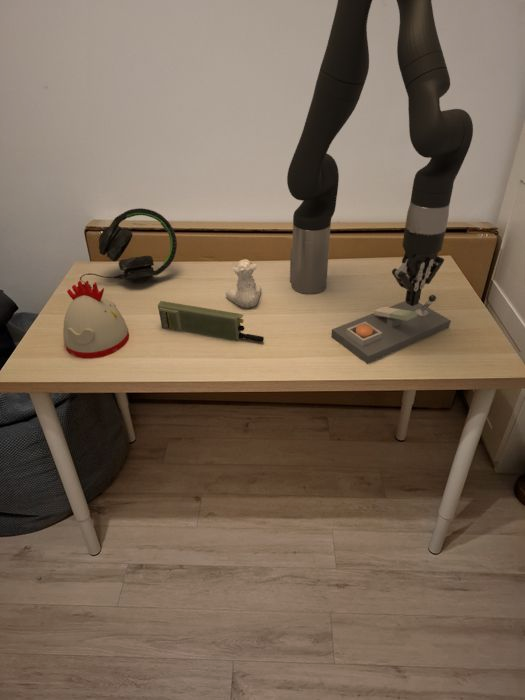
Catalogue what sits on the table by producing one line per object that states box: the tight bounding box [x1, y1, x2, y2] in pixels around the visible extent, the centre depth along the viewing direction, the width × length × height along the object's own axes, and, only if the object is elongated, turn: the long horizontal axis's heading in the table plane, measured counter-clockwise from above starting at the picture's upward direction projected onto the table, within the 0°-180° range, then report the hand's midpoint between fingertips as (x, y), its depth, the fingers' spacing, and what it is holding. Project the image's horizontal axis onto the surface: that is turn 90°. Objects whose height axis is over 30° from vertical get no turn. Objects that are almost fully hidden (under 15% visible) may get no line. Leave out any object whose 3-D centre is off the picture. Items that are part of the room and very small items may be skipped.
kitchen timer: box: [62, 280, 130, 359], centre depth 105 cm, size 14×14×15 cm
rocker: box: [373, 306, 417, 321], centre depth 108 cm, size 10×3×1 cm, turn 32°
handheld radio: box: [157, 300, 265, 343], centre depth 109 cm, size 7×3×25 cm
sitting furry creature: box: [225, 258, 262, 309], centre depth 119 cm, size 10×9×12 cm
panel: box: [330, 300, 452, 365], centre depth 109 cm, size 12×25×4 cm, turn 122°
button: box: [356, 324, 373, 339], centre depth 105 cm, size 4×4×2 cm
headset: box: [76, 207, 178, 290], centre depth 126 cm, size 18×14×29 cm
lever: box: [421, 294, 437, 312], centre depth 110 cm, size 2×2×6 cm
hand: (411, 303), depth 102 cm, fingers closed
